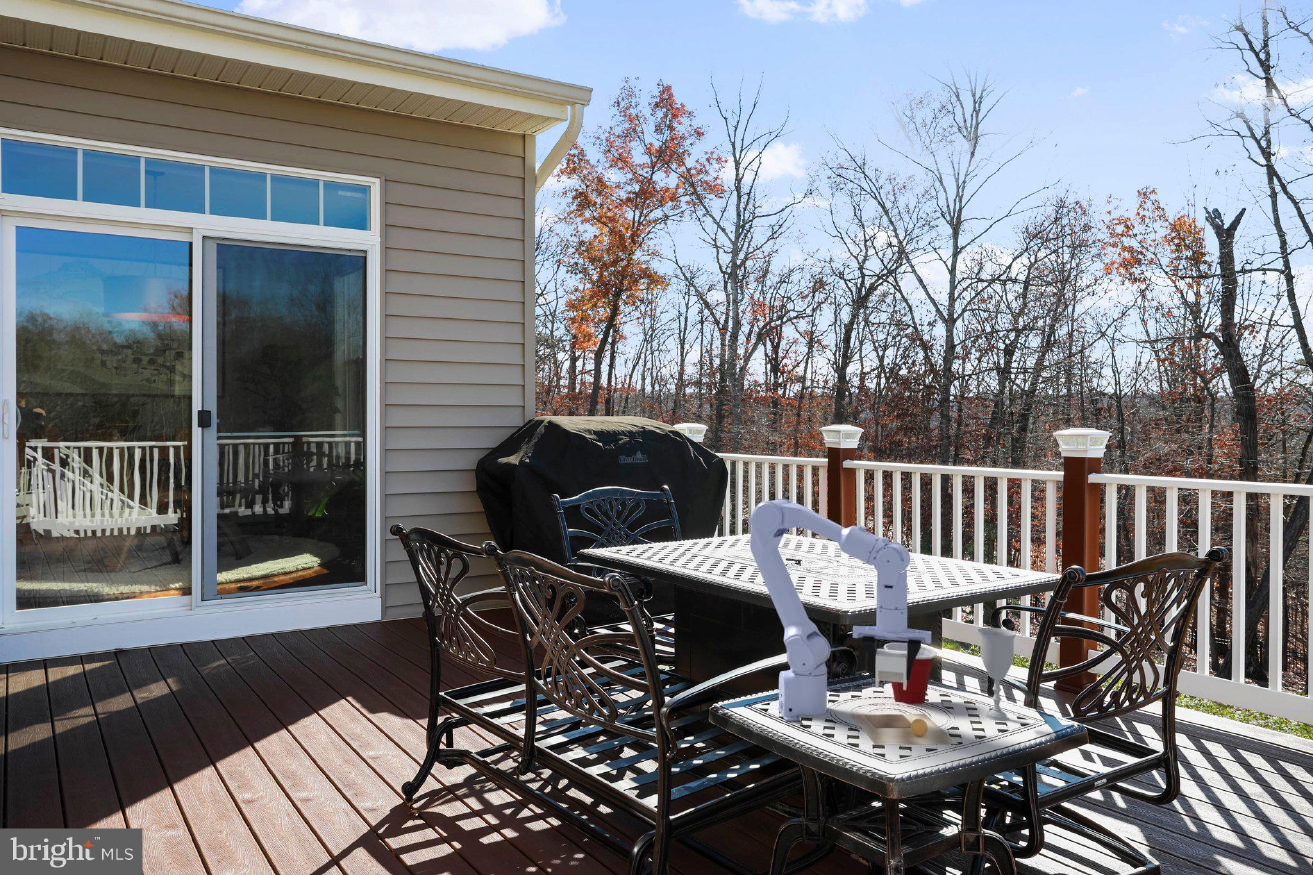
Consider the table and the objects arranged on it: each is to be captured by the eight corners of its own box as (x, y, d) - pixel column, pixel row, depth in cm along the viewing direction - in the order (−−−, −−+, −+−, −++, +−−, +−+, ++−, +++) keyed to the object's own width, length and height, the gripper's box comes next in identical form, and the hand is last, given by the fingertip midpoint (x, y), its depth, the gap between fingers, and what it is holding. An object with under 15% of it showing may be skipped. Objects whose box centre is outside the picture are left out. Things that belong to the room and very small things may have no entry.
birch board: (875, 751, 151) (875, 743, 151) (849, 720, 168) (849, 713, 168) (958, 750, 152) (958, 743, 152) (924, 719, 169) (924, 713, 169)
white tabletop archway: (875, 687, 162) (875, 655, 162) (877, 679, 167) (877, 648, 167) (906, 690, 160) (906, 658, 160) (906, 682, 165) (907, 651, 166)
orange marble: (914, 738, 155) (914, 721, 155) (908, 732, 158) (908, 716, 158) (930, 738, 155) (930, 721, 155) (924, 732, 158) (924, 716, 158)
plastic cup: (930, 716, 171) (929, 656, 171) (877, 707, 177) (876, 649, 177) (943, 702, 180) (943, 645, 180) (892, 695, 186) (892, 640, 186)
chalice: (969, 719, 169) (969, 629, 169) (995, 715, 172) (995, 626, 172) (998, 731, 162) (998, 637, 162) (1024, 726, 165) (1024, 634, 165)
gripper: (851, 607, 162) (850, 679, 162) (931, 613, 158) (930, 686, 158) (854, 601, 169) (854, 669, 169) (931, 606, 164) (930, 676, 164)
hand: (891, 677), depth 164 cm, fingers closed on white tabletop archway, 6 cm apart
